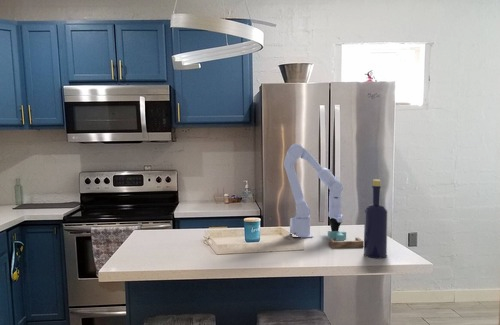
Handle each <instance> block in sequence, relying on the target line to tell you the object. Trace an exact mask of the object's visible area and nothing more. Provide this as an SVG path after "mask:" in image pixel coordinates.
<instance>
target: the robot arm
mask: <svg viewBox="0 0 500 325" xmlns="http://www.w3.org/2000/svg"><path fill="white" fill-rule="evenodd" d="M299 158H300V159H303V160H305V161H307V163H309V165H310V166H311V167H312V168H314V170H315V171H316V172H317V177H318V178H319V179H320V181H321V182H322V183H323V184H324V185H325V186H326V187H327V188H328V190H329V194H328V213H327V214H328V216H327V217H329V218H328V219H327V220H328V223H329V226H330V231H340V230H339V229H340V227H341V224H342V223H343V218H344V214H342V191H343V188H344V187H343V184H342V183H341V182H340V181H339V180H338V178H337V176H336V177H335V176H334V174H333V173H332V172H331V171H332V170H330V168H329V169H328V168H327V167H323V166H321V164H320V163H319V162H318V161H317V159H316V158H315V157H314V156H313V154H311V153H310V152H309V150H307V149H306V148H304V147H303V146H302V145H301V144H299V143H293V144H291V145H290V147H289V148H288V149H287V152H286V155H285V157H284V160H283V166H284V170H285V172H286V176H287V178H288V179H287V180H288V182H289V186H290V190H291V193H292V195H293V198H294V201H295V211H296V214H295V215H294V216H293V217H290V219H289V234H290V233H292V234H294V235H296V236H298V237H301V238H313V235H312V234H311V216H310V215H311V209H310V207H309V204H308V203H307V202H306V200H305V197H304V194H303V190H302V187H301V184H300V180H299V177H298V175H297V171H296V169H295V168H296V167H295V164H296V162H297V160H298V159H299ZM342 217H343V218H342Z"/></svg>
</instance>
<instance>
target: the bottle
mask: <svg viewBox="0 0 500 325" xmlns="http://www.w3.org/2000/svg"><path fill="white" fill-rule="evenodd" d="M371 189H372V204H369V205H368V206H367V207H366V208H365V210H364V226H363V228H364V230H363V234H364V236H363V241H364V245H363V255H364V256H365V255H366V257H367V256H368V257H367V258H371V259H378V258H379V259H385V258H387V257H388V218H389V216H388V212H389V211H388V209H387V208H386V206H385V205H381V204H380V203H381V202H380V201H381V200H380V199H381V189H382V186H381V179H373V180H372V186H371Z"/></svg>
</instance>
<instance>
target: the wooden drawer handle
mask: <svg viewBox="0 0 500 325" xmlns="http://www.w3.org/2000/svg"><path fill="white" fill-rule="evenodd" d="M328 244H329V246H331V248H333V249H340V248H341V249H342V248H344V249H345V248H346V249H347V248H364V240H363V239H361V238H359V237H355V240H344V241H337V240H335V239H332V238H328Z"/></svg>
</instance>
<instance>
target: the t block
mask: <svg viewBox="0 0 500 325" xmlns="http://www.w3.org/2000/svg"><path fill="white" fill-rule="evenodd" d="M329 238H332V239H333V240H335V241H345V239H346V240H347V232H346V231H345V230H338V231H332V230H329V231H327V239H329Z"/></svg>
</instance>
